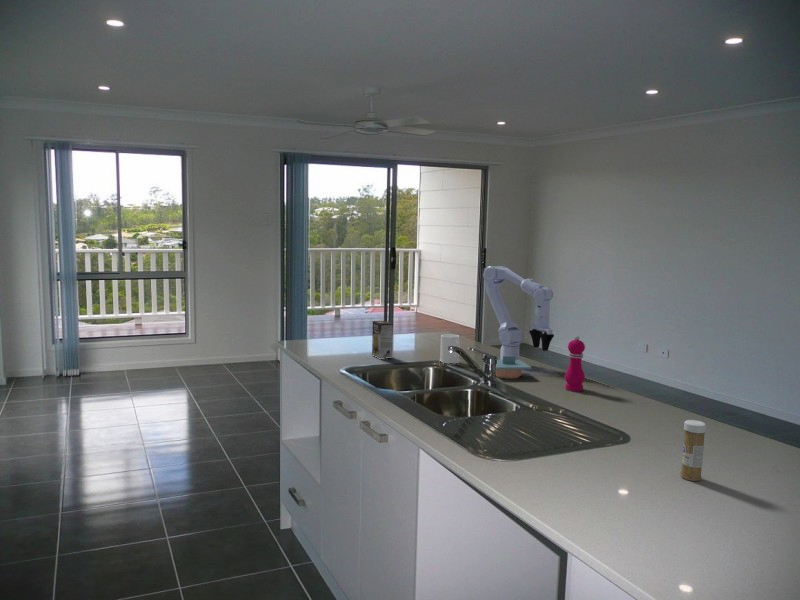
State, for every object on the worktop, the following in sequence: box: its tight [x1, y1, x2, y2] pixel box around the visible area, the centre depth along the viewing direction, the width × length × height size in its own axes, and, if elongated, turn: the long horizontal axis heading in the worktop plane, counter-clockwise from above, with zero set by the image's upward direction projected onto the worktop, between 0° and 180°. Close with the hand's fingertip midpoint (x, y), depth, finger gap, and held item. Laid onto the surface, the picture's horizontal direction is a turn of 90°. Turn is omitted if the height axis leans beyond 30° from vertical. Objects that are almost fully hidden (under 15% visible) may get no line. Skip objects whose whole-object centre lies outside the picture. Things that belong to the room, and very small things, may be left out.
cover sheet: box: [496, 356, 532, 369], centre depth 245 cm, size 14×14×4 cm
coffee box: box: [371, 320, 394, 358], centre depth 277 cm, size 9×6×16 cm
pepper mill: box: [564, 335, 586, 392], centre depth 227 cm, size 7×7×20 cm
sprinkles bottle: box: [680, 419, 707, 482], centre depth 144 cm, size 5×5×13 cm
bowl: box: [495, 369, 522, 380], centre depth 246 cm, size 10×10×4 cm
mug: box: [439, 333, 461, 364], centre depth 268 cm, size 12×8×12 cm
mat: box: [521, 366, 561, 377], centre depth 255 cm, size 16×16×1 cm
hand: (540, 348), depth 256 cm, fingers open, 7 cm apart
